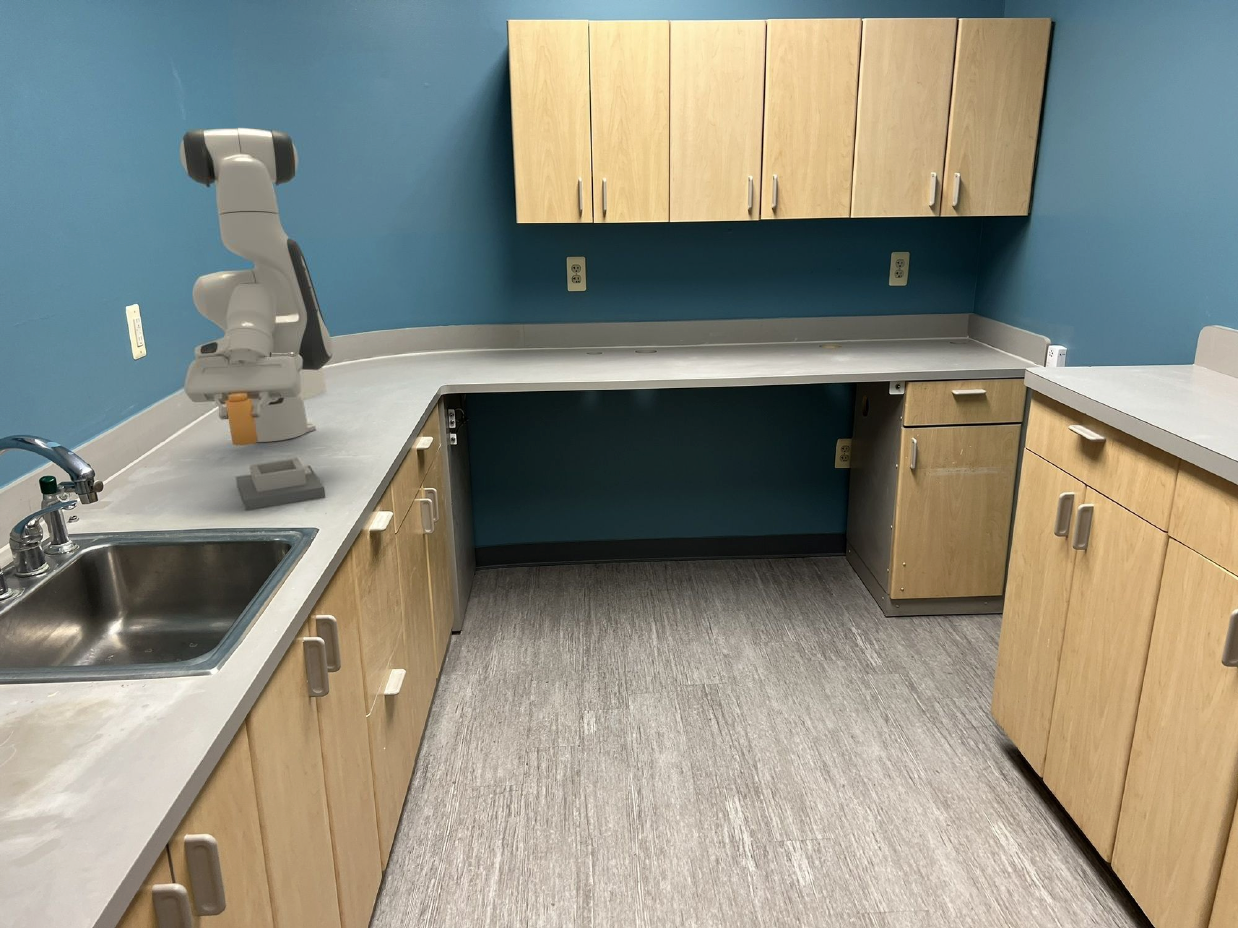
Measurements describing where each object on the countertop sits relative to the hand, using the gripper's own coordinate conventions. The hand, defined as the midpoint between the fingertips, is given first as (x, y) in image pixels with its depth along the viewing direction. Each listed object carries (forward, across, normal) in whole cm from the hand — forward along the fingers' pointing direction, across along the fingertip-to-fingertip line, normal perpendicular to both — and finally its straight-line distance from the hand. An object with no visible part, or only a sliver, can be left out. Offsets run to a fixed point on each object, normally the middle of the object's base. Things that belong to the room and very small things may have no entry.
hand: (240, 417), depth 158 cm
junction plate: (+9, -4, -14) cm, 17 cm away
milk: (-55, +14, -79) cm, 97 cm away
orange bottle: (+3, 0, -4) cm, 5 cm away
